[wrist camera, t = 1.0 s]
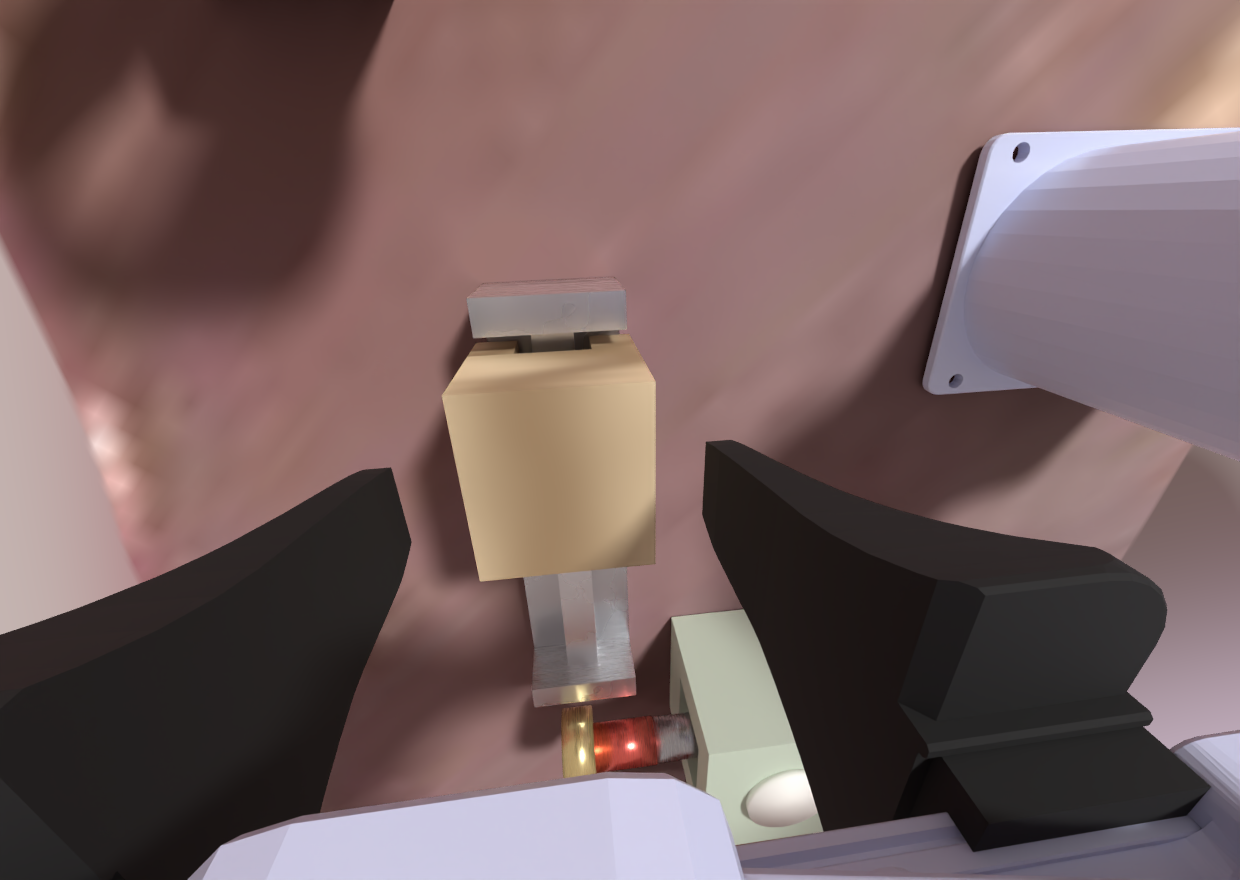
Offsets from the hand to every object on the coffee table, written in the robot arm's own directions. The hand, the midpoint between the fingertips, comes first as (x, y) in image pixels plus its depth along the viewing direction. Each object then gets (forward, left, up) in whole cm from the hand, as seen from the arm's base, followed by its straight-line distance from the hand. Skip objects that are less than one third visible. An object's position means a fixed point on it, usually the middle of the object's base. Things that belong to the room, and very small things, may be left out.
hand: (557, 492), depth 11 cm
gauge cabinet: (-7, +13, -6) cm, 16 cm away
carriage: (0, 0, -5) cm, 5 cm away
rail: (0, +4, -6) cm, 7 cm away
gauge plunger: (-3, +13, -4) cm, 14 cm away
